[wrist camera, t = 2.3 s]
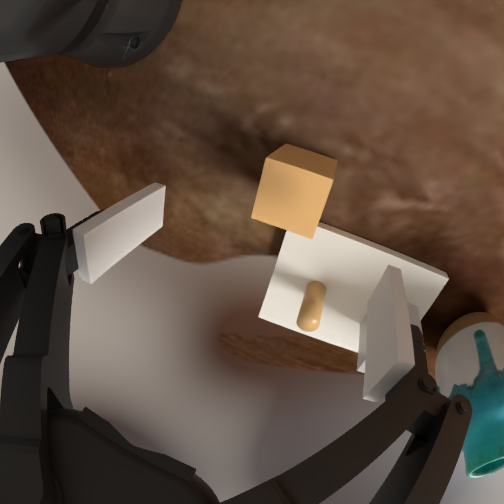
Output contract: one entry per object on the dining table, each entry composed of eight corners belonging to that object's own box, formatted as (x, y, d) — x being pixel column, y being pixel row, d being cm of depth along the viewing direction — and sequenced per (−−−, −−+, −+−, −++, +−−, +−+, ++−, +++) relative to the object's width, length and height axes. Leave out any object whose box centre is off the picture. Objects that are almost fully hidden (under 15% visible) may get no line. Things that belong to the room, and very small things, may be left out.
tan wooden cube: (273, 190, 29) (251, 217, 23) (286, 143, 26) (265, 157, 20) (321, 207, 28) (312, 239, 22) (337, 160, 25) (333, 179, 20)
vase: (422, 359, 33) (424, 492, 17) (439, 297, 28) (468, 453, 12) (486, 355, 29) (507, 476, 14) (511, 295, 25) (562, 428, 9)
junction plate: (261, 310, 37) (239, 358, 30) (293, 212, 29) (272, 251, 23) (387, 355, 34) (387, 406, 28) (446, 272, 27) (464, 323, 20)
